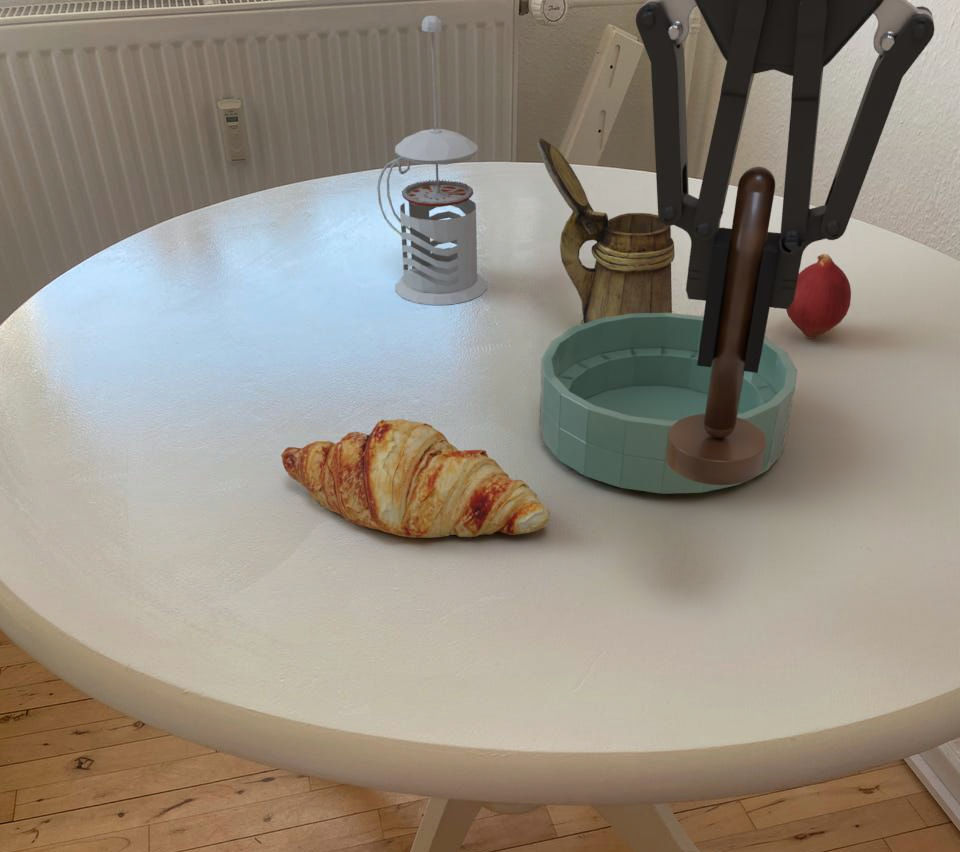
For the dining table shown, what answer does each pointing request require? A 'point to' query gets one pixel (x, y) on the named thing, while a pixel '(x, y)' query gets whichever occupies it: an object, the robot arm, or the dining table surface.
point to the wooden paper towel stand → (730, 355)
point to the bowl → (646, 398)
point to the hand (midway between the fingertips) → (729, 357)
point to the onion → (820, 297)
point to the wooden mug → (612, 251)
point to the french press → (436, 216)
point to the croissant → (414, 484)
